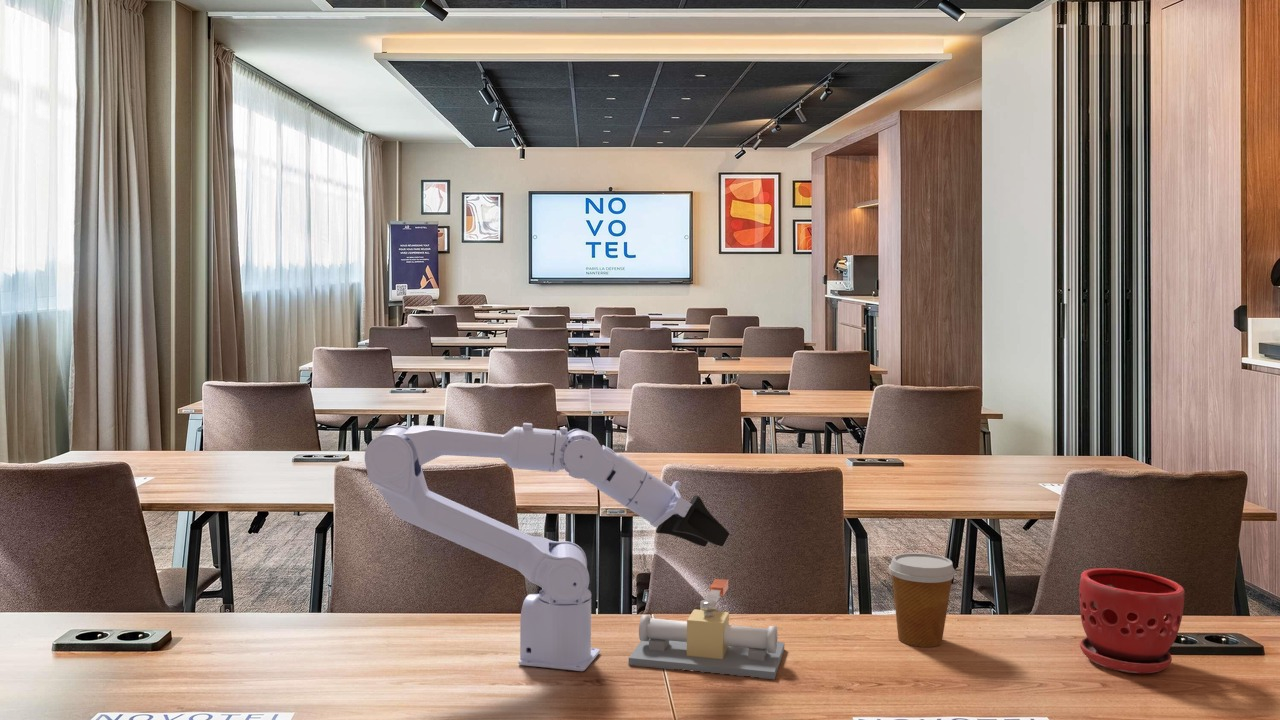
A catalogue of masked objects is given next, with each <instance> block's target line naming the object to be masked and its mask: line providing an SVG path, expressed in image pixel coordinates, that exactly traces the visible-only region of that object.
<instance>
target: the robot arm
mask: <svg viewBox="0 0 1280 720" xmlns="http://www.w3.org/2000/svg"><path fill="white" fill-rule="evenodd" d="M559 428H560V429H559V430H557V429H547V428H537V427H534V428H533V423H532V422H523V423H522V426H513V427H512V428H511V429H509V430H508V431H507V432H506V433H504V434H499V433H492V432H483V431H479V430H478V431H477V430H469V429H462V428H461V429H460V428H452V427H445V426H444V427H443V426H438V425H436V426H435V425H411V426H410V427H408V426H405V425H392V426H389V427H386V428H385V429H383V430H382V432H381V433H380V434H379V435H378V436H376V437H375V438H373V439H372V440H371V441H370V442H369V444H368V445H367V446H366V449H365V452H364V463H365V468H366V472H367V476H368V477H367V478H368V481H369V482H370V483H371V484H372V485H373V486H374V487H376V489H377V490H378V492H379V493H380V494H381V495H382V498H383V499H384V500H385V502H386V503H387V504H388V506H389V507H390V509H391V510H392V512H393V513H394V514H395V516H396V517H397V518H399V519H400V520H402V521H404V522H407V523H409V524H410V525H413V526H416V527H418V528H420V529H423V530H426V531H427V532H429V533H431V534H434V535H436V536H438V537H441V538H443V539H445V540H448V541H450V542H453V543H454V544H457V545H459V546H461V547H463V548H467V549H468V550H471V551H472V552H475V553H477V554H479V555H482V556H484V557H487V558H488V559H491V560H493V561H495V562H498V563H500V564H503V565H505V566H506V567H507V566H508V567H509V568H512V569H514V570H516V571H518V572H519V573H520V574H521V575H522V576H524V578H525V579H526V580H528V581H529V582H530V583H532V584H534V585H536V586H539V587H540V588H541V589H540V590H539V591H538V592H539V593H530V594H527V595H526V597H525V598H524V600H523V603H522V607H521V612H520V620H519V621H520V623H519V625H520V628H519V629H520V630H519V631H520V632H519V634H520V635H519V636H520V639H519V640H520V641H519V642H520V644H519V645H520V650H519V651H520V652H519V654H520V656H519V660H518V661H517V663H518V665H519V666H527V667H529V666H530V667H539V668H545V669H546V668H548V669H558V670H565V671H566V670H568V671H577V672H585V670H587V668H588V667H589V666H590V665H591V663H593V661H594V660H595V659H596V657H597V656H598V655H599V654H600V653H601V649H600V648H596V647H595V648H594V647H592V645H591V644H592V592H591V590H590V589H589V586H590V585H589V584H590V574H589V571H588V570H589V569H588V567H587V566H588V560H587V559H588V558H587V556H586V552H585V551H584V549H583V548H582V547H581V546H579V545H578V544H576V543H574V542H572V541H568V540H567V541H565V540H564V541H554V540H551V539H548V537H544V536H537V535H536V536H535V535H531V534H529V533H527V532H524V531H521V530H519V529H517V528H515V527H513V526H511V525H508V524H506V523H503V522H501V521H499V520H497V519H494V518H492V517H490V516H488V515H486V514H483V513H482V512H479V511H477V510H475V509H472V508H470V507H467V506H466V505H463V504H461V503H458V502H456V501H453V500H451V499H449V498H447V497H445V496H443V495H441V494H438V493H436V492H434V491H432V490H430V489H429V488H428V485H427V482H426V479H425V478H426V477H425V475H424V471H423V469H422V466H424V465H426V464H427V463H429V462H431V461H433V460H435V459H437V458H439V457H441V456H457V457H459V456H460V457H478V458H494V459H495V458H496V459H497V458H498V459H502V460H503V461H504V462H505V464H506V465H507V466H508V467H509V468H510V469H515V470H517V469H518V470H528V471H539V472H551V473H557V472H558V471H560V470H561V471H563V470H565V471H566V472H567V473H568V476H570V477H572V478H574V479H579V480H580V479H582V480H583V479H584V480H585V481H586V482H589V483H590V484H592V485H593V486H595V487H596V489H597V490H598V491H600V492H602V493H603V494H604V495H607V496H608V497H610V498H611V499H613V500H614V501H615V502H617V503H619V504H620V505H622V506H624V507H625V508H627V509H628V510H629V511H631V512H633V513H634V514H636V515H637V516H639V517H641V518H642V519H644V520H645V521H647V522H649V524H650V525H651V526H652V527H654V528H656V530H655V533H656V534H662V535H669V536H674V537H677V538H680V539H682V540H685V541H687V542H690V543H692V544H695V545H697V546H700V547H706V546H707V544H708V543H710V544H712V545H716V546H718V547H723V546H724V544H725V543H726V541H727V539H728V537H729V535H730V533H729V531H728V530H727V529H726V528H725V527H724V526H723V525H722V524H721V522H719V521H718V520H717V519H716V518H715V517H714V516H713V515H712V514H711V513H710V511H709V510H708V508H707V507H706V505H705V504H704V502H703V500H702V498H701V497H700V496H699V495H697V494H696V495H693V496H692V498H691V500H690V502H689V501H688V500H686V499H685V498H683V497H682V495H681V493H680V491H679V489H680V487H681V484H682V483H681V482H680V481H679V480H676V481H673V482H672V484H671V485H669V484H668V483H666V482H665V481H663V480H661V479H659V478H658V477H656V476H655V475H653V474H652V473H650V472H649V471H647V470H646V469H645V468H642V467H641V466H640V465H638V464H636V463H635V462H633V461H632V460H630V459H629V458H627V457H625V456H624V455H623V454H621V453H616V452H615V451H614V450H613V449H612V448H610V447H608V446H605V445H604V444H602V445H601V444H600V443H599V440H598V439H597V437H596V436H594V434H592V433H591V432H589V431H586V430H583V429H580V428H573V429H571V430H569V431H568V427H564V426H563V427H561V426H560V427H559Z"/></svg>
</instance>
